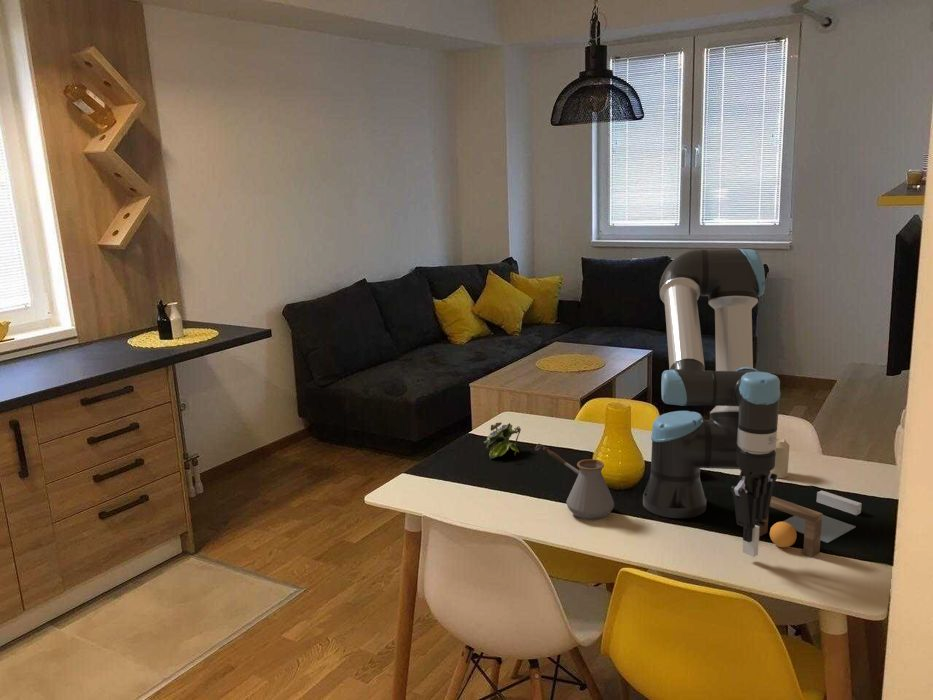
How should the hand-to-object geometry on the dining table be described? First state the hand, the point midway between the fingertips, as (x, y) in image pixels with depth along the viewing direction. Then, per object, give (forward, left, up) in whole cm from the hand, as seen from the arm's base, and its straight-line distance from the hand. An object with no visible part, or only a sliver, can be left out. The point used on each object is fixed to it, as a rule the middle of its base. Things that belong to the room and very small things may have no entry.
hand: (750, 553), depth 166 cm
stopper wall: (-2, +39, -2) cm, 39 cm away
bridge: (0, +13, -2) cm, 13 cm away
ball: (0, +11, +1) cm, 11 cm away
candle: (-23, +46, -2) cm, 51 cm away
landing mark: (0, +26, -2) cm, 26 cm away
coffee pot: (-43, -10, -2) cm, 44 cm away
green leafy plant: (-83, +1, -2) cm, 83 cm away
